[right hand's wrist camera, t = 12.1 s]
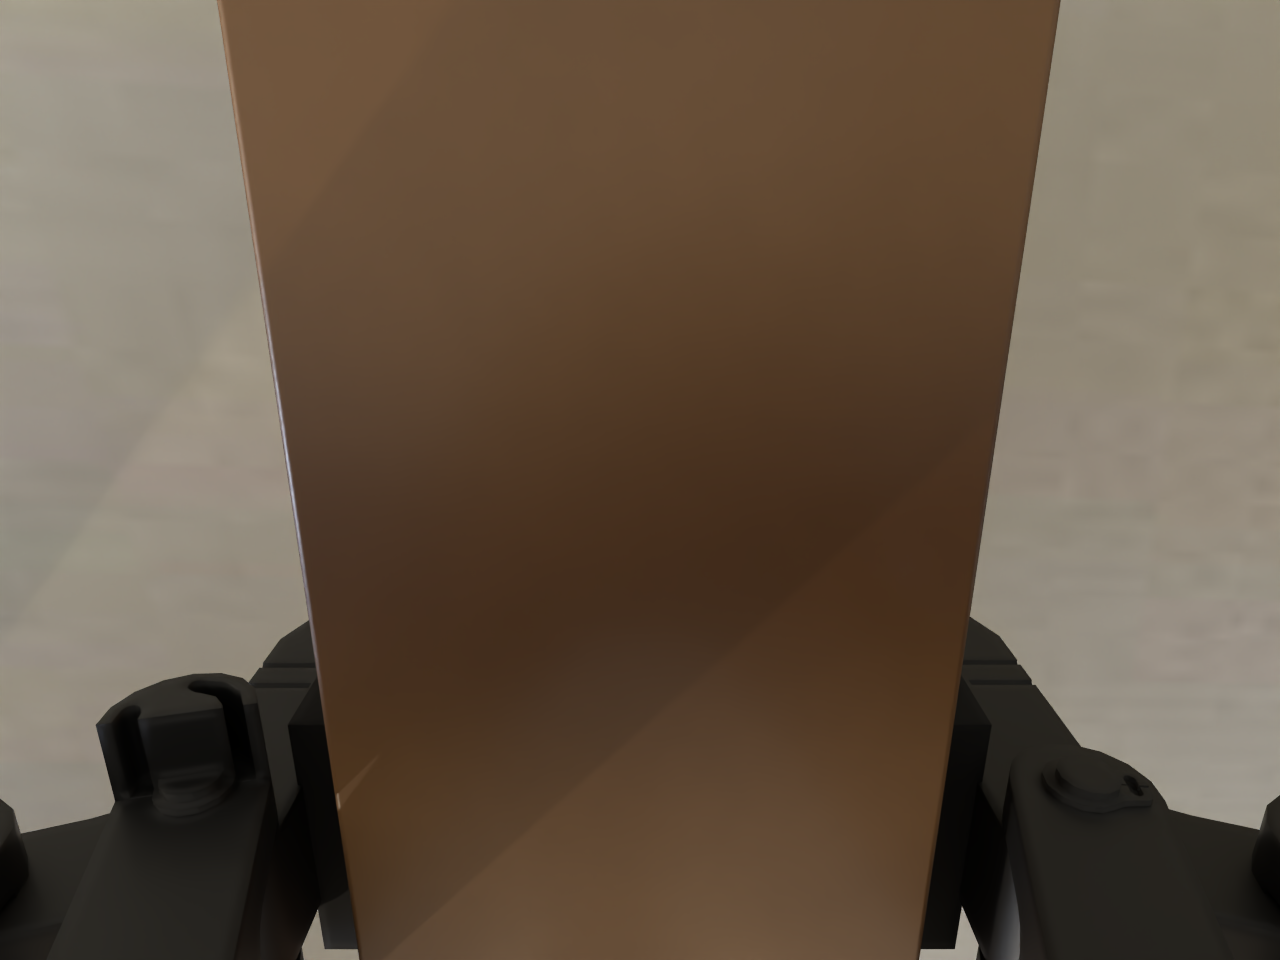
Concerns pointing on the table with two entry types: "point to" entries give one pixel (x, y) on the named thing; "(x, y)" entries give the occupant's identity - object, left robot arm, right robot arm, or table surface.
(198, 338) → the table surface
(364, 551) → the bar
